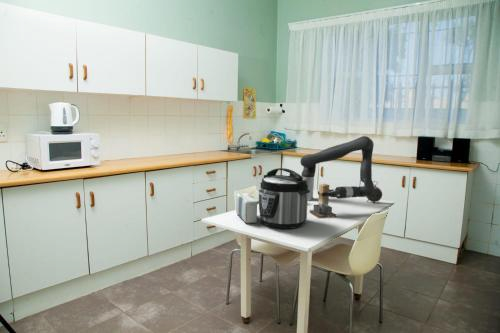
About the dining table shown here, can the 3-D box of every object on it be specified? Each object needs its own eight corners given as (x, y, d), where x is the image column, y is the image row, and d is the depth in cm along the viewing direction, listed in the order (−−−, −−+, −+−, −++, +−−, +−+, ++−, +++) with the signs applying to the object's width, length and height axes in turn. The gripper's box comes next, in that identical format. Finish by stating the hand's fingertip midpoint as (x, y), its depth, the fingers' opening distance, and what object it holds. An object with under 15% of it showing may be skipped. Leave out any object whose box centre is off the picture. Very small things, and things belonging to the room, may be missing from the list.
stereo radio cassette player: (235, 214, 220) (235, 182, 217) (247, 213, 223) (248, 182, 219) (244, 224, 200) (245, 189, 197) (258, 223, 203) (259, 189, 200)
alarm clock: (380, 202, 261) (382, 180, 258) (382, 204, 255) (384, 182, 253) (364, 201, 262) (366, 179, 259) (366, 203, 256) (368, 181, 254)
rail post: (321, 207, 221) (322, 185, 218) (318, 205, 225) (319, 184, 223) (328, 207, 222) (329, 185, 220) (324, 205, 226) (325, 183, 224)
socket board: (318, 218, 217) (318, 209, 216) (309, 212, 228) (309, 204, 227) (335, 216, 220) (336, 208, 220) (326, 211, 232) (326, 203, 231)
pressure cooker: (253, 215, 218) (254, 164, 213) (297, 214, 223) (300, 164, 218) (262, 232, 189) (265, 173, 184) (313, 230, 193) (317, 173, 189)
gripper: (338, 184, 232) (314, 185, 227) (350, 188, 219) (325, 190, 214) (337, 195, 234) (314, 196, 229) (349, 200, 220) (325, 202, 215)
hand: (320, 193), depth 221 cm, fingers closed on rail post, 4 cm apart
